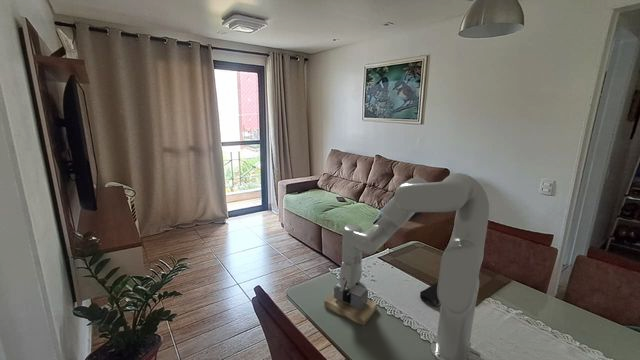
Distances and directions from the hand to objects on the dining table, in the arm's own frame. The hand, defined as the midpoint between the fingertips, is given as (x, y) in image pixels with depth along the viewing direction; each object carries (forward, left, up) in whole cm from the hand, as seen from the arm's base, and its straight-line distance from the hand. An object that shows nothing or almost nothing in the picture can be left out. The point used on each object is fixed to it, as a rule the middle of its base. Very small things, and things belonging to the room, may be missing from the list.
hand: (350, 297), depth 115 cm
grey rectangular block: (0, 0, -1) cm, 1 cm away
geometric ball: (+8, -16, -5) cm, 19 cm away
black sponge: (-27, -28, -6) cm, 39 cm away
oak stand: (0, 0, -5) cm, 5 cm away
